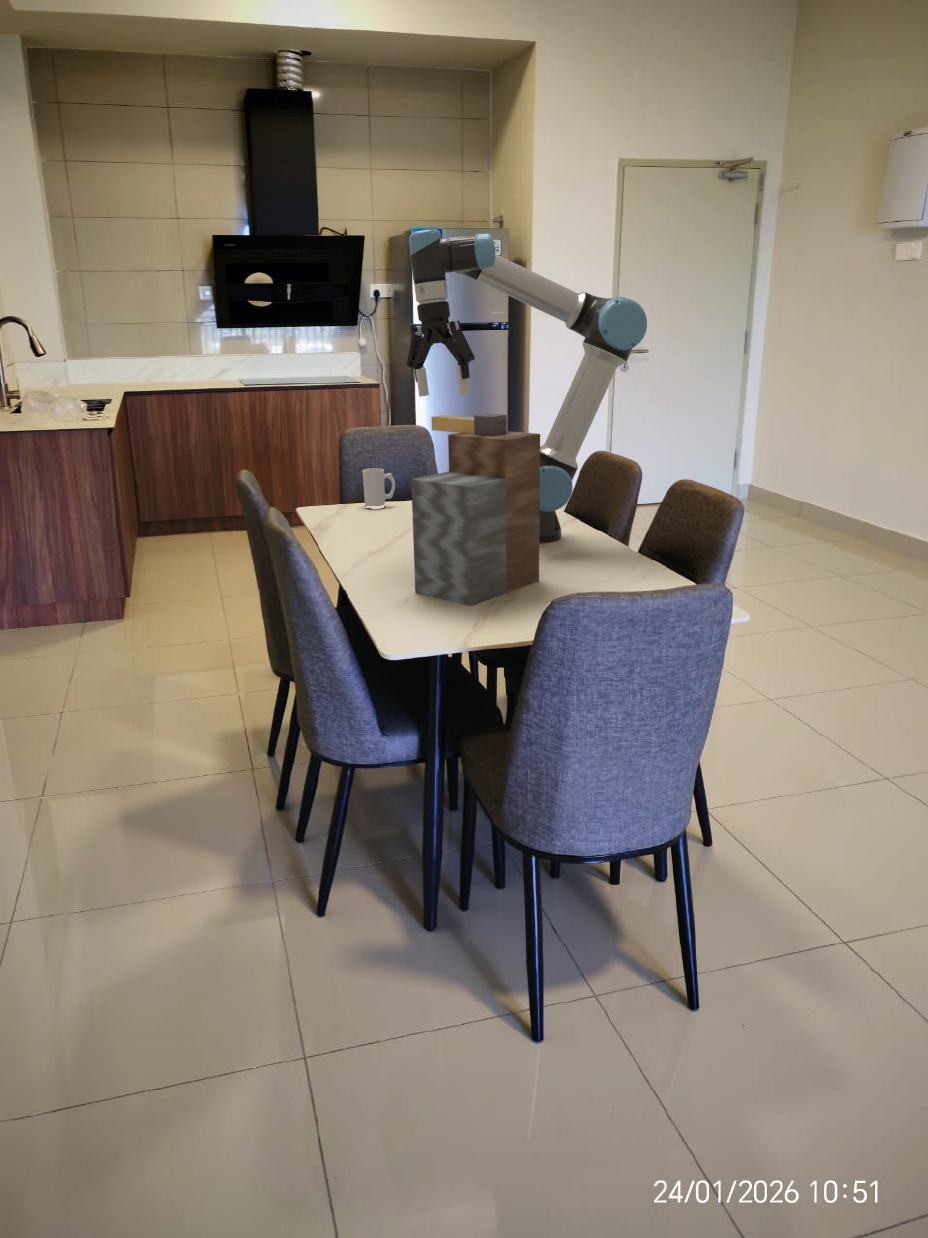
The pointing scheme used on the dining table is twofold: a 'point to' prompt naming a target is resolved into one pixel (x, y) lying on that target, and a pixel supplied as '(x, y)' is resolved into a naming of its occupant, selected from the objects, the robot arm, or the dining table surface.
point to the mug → (376, 486)
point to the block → (472, 424)
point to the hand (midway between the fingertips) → (444, 394)
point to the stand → (479, 519)
